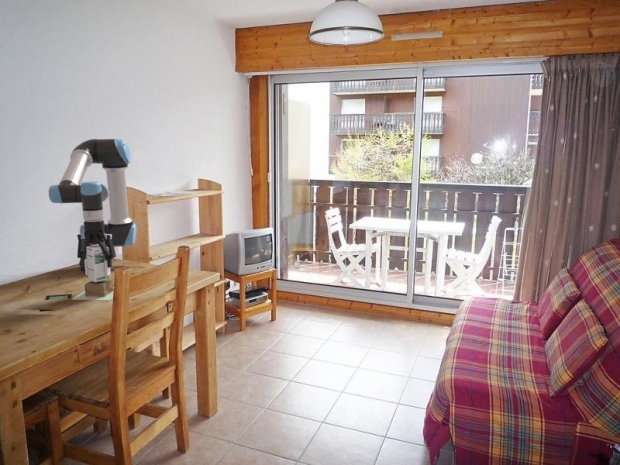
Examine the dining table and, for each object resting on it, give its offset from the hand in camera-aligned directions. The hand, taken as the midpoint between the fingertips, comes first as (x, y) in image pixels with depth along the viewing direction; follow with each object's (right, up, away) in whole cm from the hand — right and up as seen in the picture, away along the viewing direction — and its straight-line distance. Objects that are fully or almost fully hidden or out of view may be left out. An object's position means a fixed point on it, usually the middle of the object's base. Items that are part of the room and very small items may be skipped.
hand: (98, 274), depth 198 cm
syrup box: (0, -2, 0) cm, 2 cm away
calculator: (-13, -12, -9) cm, 19 cm away
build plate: (0, -9, +2) cm, 10 cm away
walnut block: (0, -8, +1) cm, 8 cm away
